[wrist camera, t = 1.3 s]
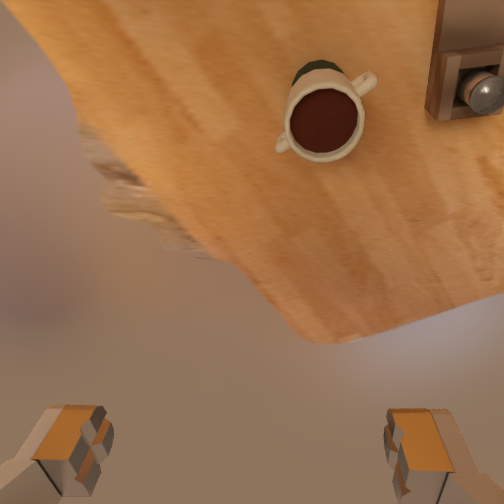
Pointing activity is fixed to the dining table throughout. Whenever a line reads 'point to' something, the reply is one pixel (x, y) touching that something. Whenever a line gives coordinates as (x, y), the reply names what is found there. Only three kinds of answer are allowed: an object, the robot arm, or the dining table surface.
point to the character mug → (324, 112)
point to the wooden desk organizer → (463, 53)
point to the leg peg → (481, 91)
